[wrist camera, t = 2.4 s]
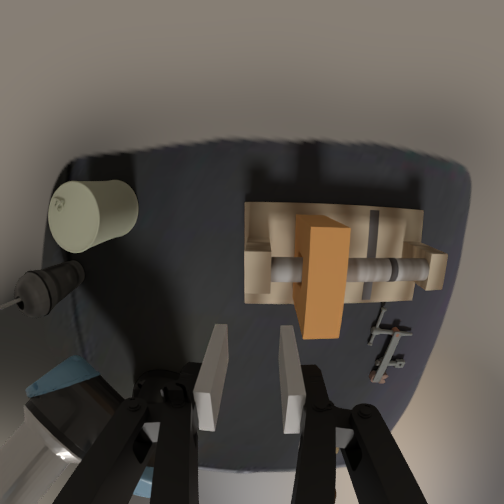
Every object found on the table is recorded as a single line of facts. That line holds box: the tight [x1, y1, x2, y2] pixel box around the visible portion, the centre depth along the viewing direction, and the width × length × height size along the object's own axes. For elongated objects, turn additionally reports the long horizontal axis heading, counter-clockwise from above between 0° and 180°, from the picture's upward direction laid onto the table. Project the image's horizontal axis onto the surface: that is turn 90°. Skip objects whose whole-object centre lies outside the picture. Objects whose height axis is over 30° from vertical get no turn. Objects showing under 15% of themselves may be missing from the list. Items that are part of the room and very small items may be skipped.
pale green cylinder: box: [48, 180, 139, 253], centre depth 34 cm, size 9×9×12 cm
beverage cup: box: [0, 260, 85, 318], centre depth 33 cm, size 7×7×20 cm
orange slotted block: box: [292, 214, 351, 339], centre depth 33 cm, size 4×12×12 cm, turn 0°
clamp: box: [367, 307, 412, 383], centre depth 44 cm, size 15×2×10 cm
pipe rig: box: [244, 202, 448, 304], centre depth 36 cm, size 28×15×10 cm, turn 90°
